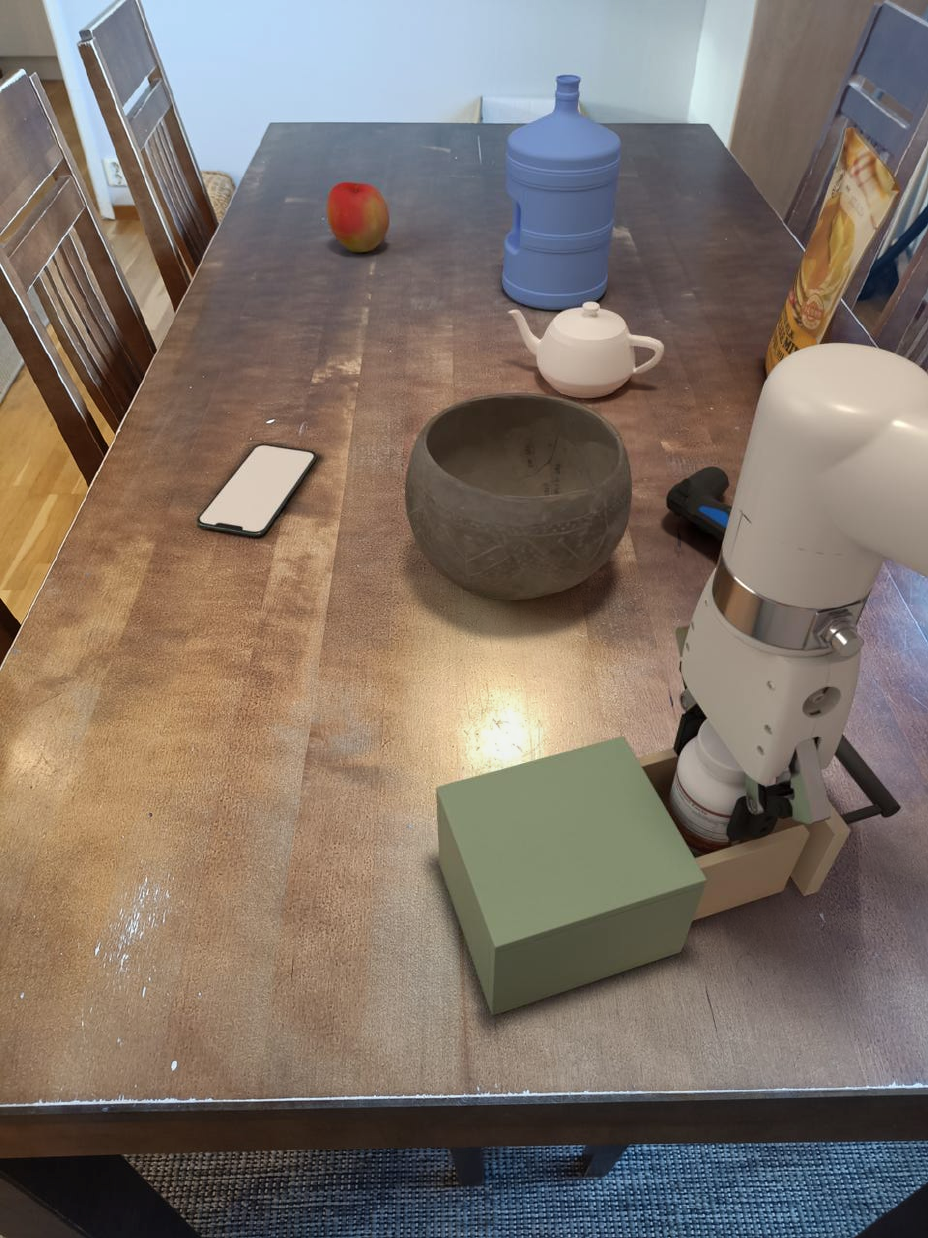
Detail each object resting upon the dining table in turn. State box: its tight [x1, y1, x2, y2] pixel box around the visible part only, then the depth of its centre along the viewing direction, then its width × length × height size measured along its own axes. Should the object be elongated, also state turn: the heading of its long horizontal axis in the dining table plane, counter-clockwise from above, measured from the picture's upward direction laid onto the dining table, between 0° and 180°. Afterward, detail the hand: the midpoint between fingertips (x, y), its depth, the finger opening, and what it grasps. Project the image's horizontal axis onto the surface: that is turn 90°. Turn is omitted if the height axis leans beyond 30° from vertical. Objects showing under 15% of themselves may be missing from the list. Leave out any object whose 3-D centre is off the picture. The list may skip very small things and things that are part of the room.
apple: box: [326, 181, 390, 253], centre depth 143 cm, size 10×10×10 cm
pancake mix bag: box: [765, 126, 902, 379], centre depth 105 cm, size 7×19×28 cm, turn 171°
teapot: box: [507, 301, 665, 399], centre depth 112 cm, size 20×12×10 cm, turn 70°
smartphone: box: [196, 443, 318, 537], centre depth 98 cm, size 8×1×16 cm
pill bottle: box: [666, 718, 776, 858], centre depth 59 cm, size 6×6×11 cm
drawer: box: [636, 733, 902, 921], centre depth 63 cm, size 19×10×8 cm, turn 108°
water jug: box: [501, 74, 622, 311], centre depth 125 cm, size 16×16×28 cm
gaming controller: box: [665, 466, 732, 542], centre depth 90 cm, size 17×6×10 cm
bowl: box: [404, 391, 633, 601], centre depth 84 cm, size 21×21×15 cm
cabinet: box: [435, 735, 707, 1016], centre depth 60 cm, size 14×12×10 cm
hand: (721, 787), depth 59 cm, fingers closed on pill bottle, 6 cm apart
